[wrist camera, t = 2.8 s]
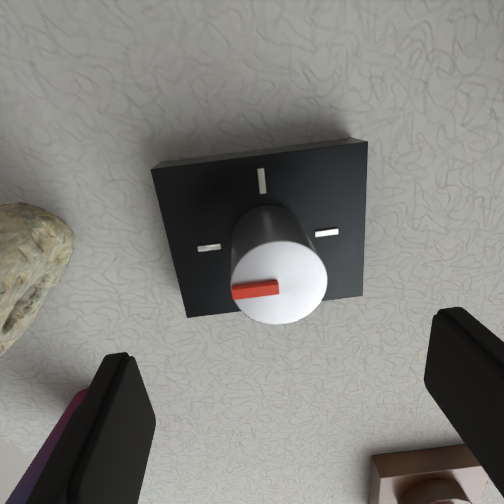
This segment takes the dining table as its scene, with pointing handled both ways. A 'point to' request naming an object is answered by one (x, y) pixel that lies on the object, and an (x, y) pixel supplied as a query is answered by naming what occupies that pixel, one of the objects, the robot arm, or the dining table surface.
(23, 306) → the stone ring
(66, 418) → the cup
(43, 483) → the robot arm
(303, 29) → the dining table surface
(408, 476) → the button block
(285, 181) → the plate
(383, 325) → the dining table surface
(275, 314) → the tap knob
